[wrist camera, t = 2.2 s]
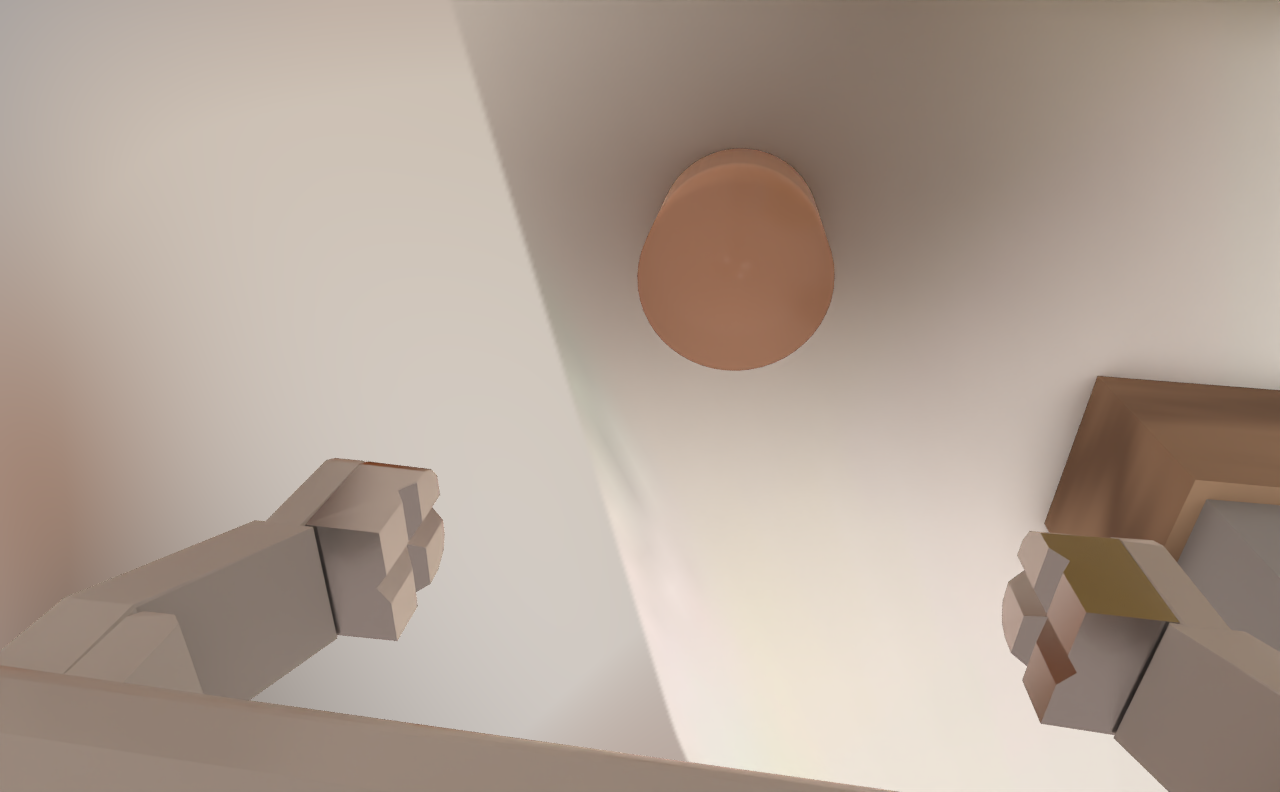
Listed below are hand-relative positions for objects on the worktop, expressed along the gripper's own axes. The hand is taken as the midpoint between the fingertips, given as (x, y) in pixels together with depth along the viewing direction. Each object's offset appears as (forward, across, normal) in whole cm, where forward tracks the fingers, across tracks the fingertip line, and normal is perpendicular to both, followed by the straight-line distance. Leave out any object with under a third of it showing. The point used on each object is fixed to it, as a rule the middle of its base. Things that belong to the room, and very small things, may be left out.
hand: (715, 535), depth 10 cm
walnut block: (+15, -15, +6) cm, 22 cm away
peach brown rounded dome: (+15, 0, -1) cm, 15 cm away
